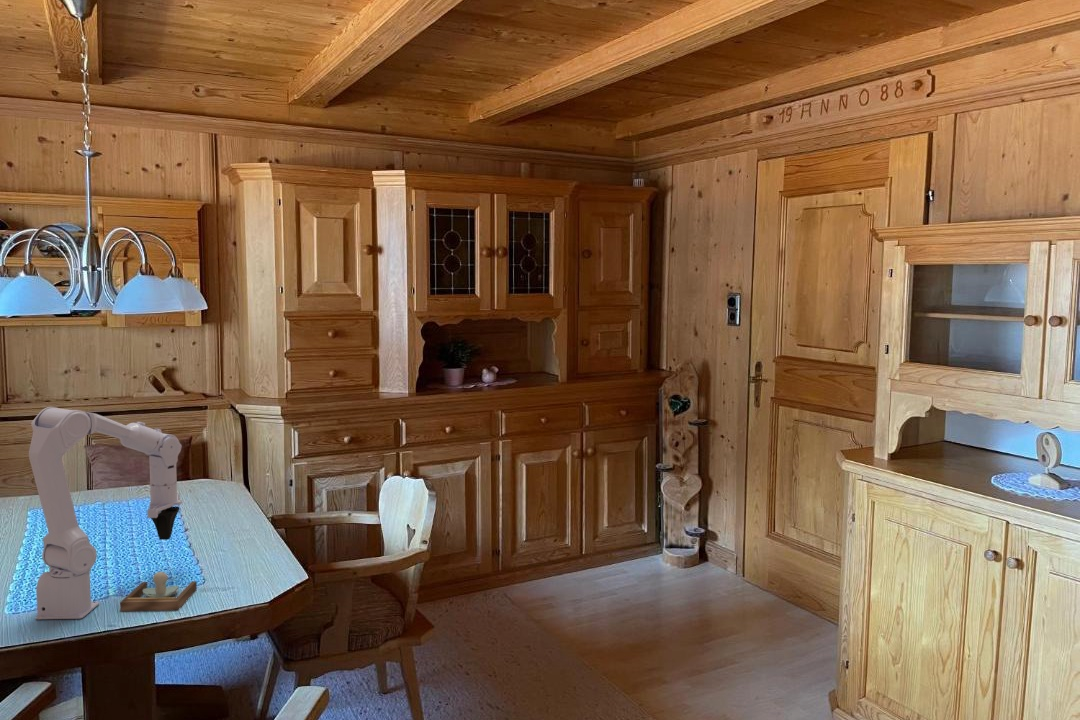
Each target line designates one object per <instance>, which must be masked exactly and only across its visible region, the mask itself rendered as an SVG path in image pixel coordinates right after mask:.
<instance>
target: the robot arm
mask: <svg viewBox="0 0 1080 720" xmlns="http://www.w3.org/2000/svg"><path fill="white" fill-rule="evenodd" d="M30 426H31V428H32V436H31V441H30V446H29V449H28V459H29V463H30V468H31V471H32V475H33V478H34V482H35V486H36V489H37V493H38V498H39V501H40V504H41V509H42V513H43V517H44V521H45V523H46V528H47V531H48V533H46V535H45V536H44V537H43V538H42V543H43V550H42V553H41V554H42V555H41V556H42V561H43V562H44V564H45V565H46V566H48V569H49V570H48V571H45V572H43V573H42V574H41V575H40V576H39V578H38V580H37V583H36V589H35V590H36V592H35V593H36V610H37V611H36V612H37V613H36V614H37V615H36V616H35V620H74V619H75V620H76V619H77V620H79V619H80V620H81V619H84V617H86V616H87V615H88V614H89V613H90V612H91V611H93V610H94V609H95V608H96V607H97V606H99V604H100V601H92V596H91V574H90V573H91V572H92V568H93V566H94V565H95V563H96V562H97V555H98V554H97V550H96V548H95V547H94V546H93V545H92V543H91V541H90V540H89V536H88V535H87V534H86V532H84V530H82V528H81V527H80V525H79V523H78V519H77V515H76V511H75V507H74V504H73V500H72V499H73V498H72V495H71V492H70V491H71V490H70V488H69V483H68V479H67V475H66V471H65V467H64V463H63V457H64V456H65V454H66V453H67V452H68V451H69V450H71V449H72V448H73V447H74V446H76V445H77V443H79V442H80V441H81V440H83V439H84V438H85V437H86V436H87V435H93V434H95V433H99V434H102V435H105V436H110V437H112V438H116V439H119V441H120V442H119V443H120V444H121V445H122V446H123V447H125V448H127V449H131V450H135V451H137V452H140V453H143V454H145V455H146V456H149V490H150V495H149V496H150V501H149V506H148V509H147V510H146V513H147V517H146V518H147V519H151V520H152V522H153V524H154V526H155V529H156V532H157V535H158V539H159V540H163V541H164V540H171V537H172V533H173V529H174V523H175V521H176V517H177V515H178V514H179V512H180V507H179V506H180V505H182V504H183V500H181V499H180V493H178V489H177V488H178V486H177V485H178V483H177V482H178V481H177V463H178V462H179V459H178V457H179V455H180V453H181V450H182V444H181V443H180V440H179V439H178V437H177V436H176V435H174V434H171V433H164V432H162V429H161V428H154V429H153V428H151V427H149V426H146V423H145V422H142V421H136V422H130V423H128V424H126V425H125V424H123V423H121V422H118V421H116V420H113V419H111V418H108V417H105V416H103V415H101V414H98V413H96V412H95V413H94V412H87V411H84V410H80V409H79V410H78V409H67V408H59V407H56V406H48V407H45V408H43V409H42V410H40V411H39V413H38V414H37V415H36V416H35V418H34V419H33V420H32V421H31V423H30Z"/></svg>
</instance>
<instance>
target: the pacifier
mask: <svg viewBox="0 0 1080 720" xmlns="http://www.w3.org/2000/svg"><path fill="white" fill-rule="evenodd" d="M168 578H169V577H168V574H166V573H165V572H164V571H158V572H156V573H155V574H154V575H152V582H153V583H154V585H155V587H147V588H145V589H143V595H145V596H146V597H147V598H152V597H172V596H174V595H175V594H177V593H178V589H179V585H173V586H167V584H166V583H167V582H168Z"/></svg>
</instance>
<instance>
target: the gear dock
mask: <svg viewBox="0 0 1080 720" xmlns="http://www.w3.org/2000/svg"><path fill="white" fill-rule="evenodd" d="M145 588H148V582H147V581H142V582H141V583H139V584H138V586H136V587H135V588H134V589H133V590H132V591H131V592H130V593H128V595H126V597H124V598H123V599H122V600H121V601H120V602H119V603H120V604H119V609H120V610H119V611H120V612H145V611H146V612H147V611H148V612H149V611H152V612H153V611H154V612H155V611H160V612H161V611H179V610H180V609H181V608H182V606H184V604H185V603H186V602H187V601H188V600H189V599H190V598H191V596H192V595H193V594H194V593H196V591H197V590H196V589H197V588H198V587H197V580H195V581H194V580H193V581H191V582H190V583H189V584H188V585H187V586H186V587H185V588H184V589H183V590H182V591H181V592H180V593H179V594H178V595H177V596H173V597H172V596H170V597H152V598H151V597H142V596H143V595H144V594H143V589H145ZM189 597H190V598H189ZM188 598H189V599H188ZM186 600H187V601H186ZM179 608H180V609H179Z"/></svg>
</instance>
